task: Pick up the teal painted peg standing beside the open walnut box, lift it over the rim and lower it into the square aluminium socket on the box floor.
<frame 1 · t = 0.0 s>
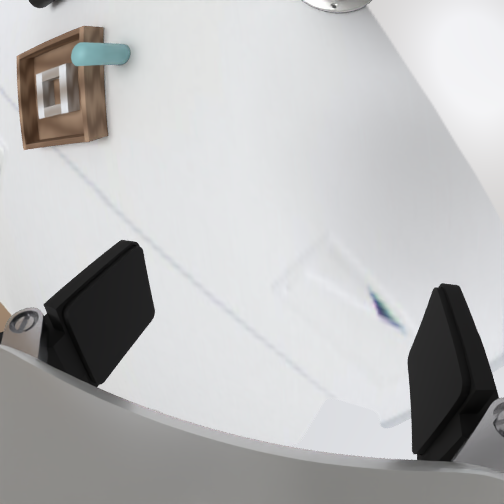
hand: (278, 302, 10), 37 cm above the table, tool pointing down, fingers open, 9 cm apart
peg: (121, 54, 42), on the table
box: (66, 89, 47), on the table
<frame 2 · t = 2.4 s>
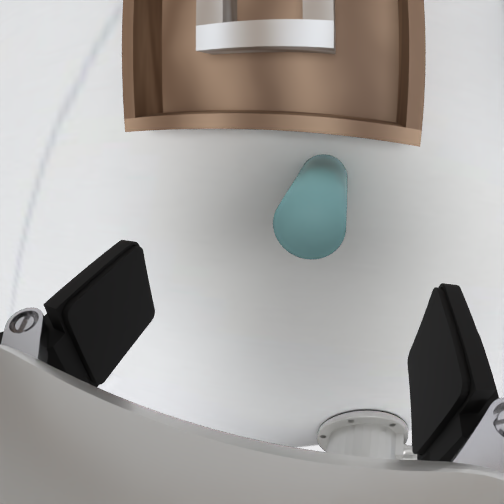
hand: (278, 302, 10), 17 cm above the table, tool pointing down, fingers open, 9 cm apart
peg: (324, 177, 24), on the table
box: (274, 1, 19), on the table
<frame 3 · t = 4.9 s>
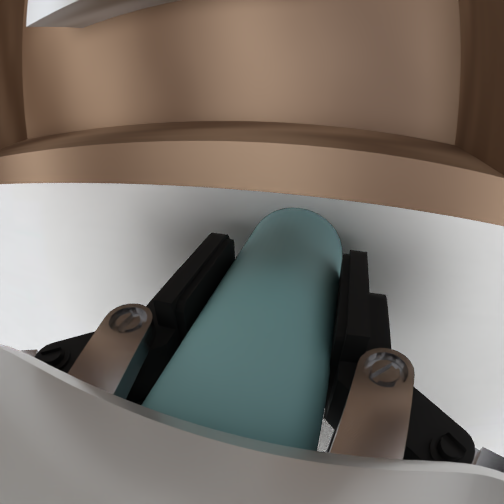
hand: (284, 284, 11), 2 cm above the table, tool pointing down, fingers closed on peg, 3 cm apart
peg: (295, 251, 13), on the table, touching gripper
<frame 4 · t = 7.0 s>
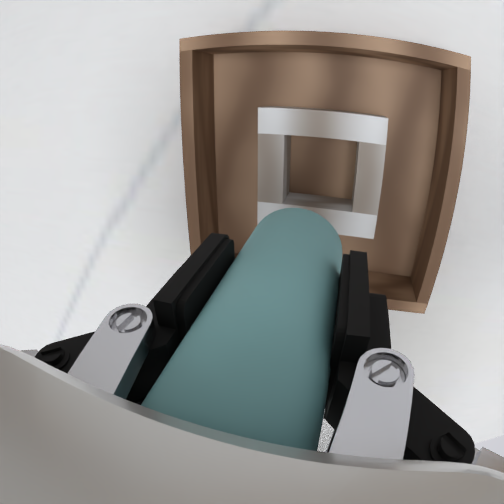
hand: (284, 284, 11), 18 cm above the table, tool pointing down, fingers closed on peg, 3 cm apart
peg: (295, 251, 13), point 16 cm above the table, touching gripper
box: (323, 162, 26), on the table
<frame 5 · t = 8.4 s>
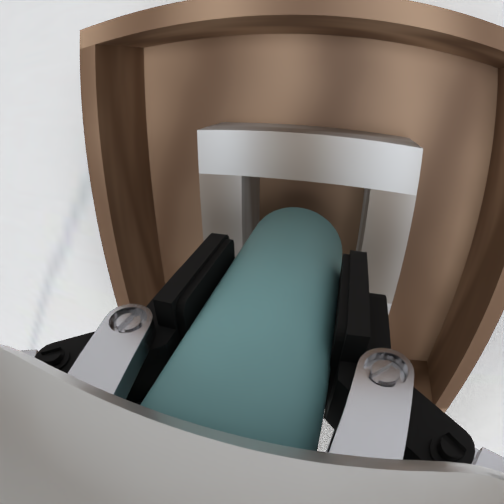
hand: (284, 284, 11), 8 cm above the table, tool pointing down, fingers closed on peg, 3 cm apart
peg: (295, 251, 13), point 5 cm above the table, touching gripper
box: (311, 208, 17), on the table
when the fingers open (5 cm above the table, at t = 9.5 s): peg drops 2 cm, resting on box.
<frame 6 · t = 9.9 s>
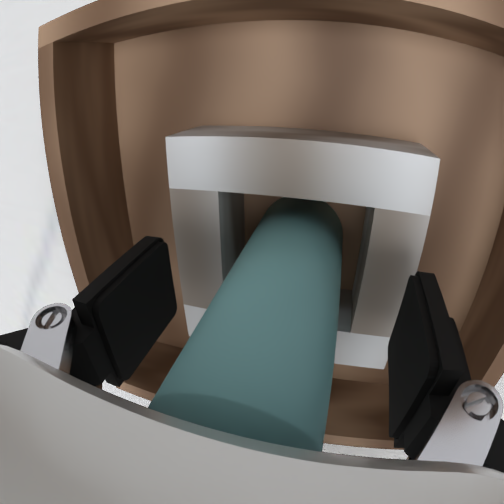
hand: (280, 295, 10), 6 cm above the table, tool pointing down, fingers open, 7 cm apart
peg: (301, 233, 14), point 1 cm above the table, touching box
box: (305, 224, 15), on the table
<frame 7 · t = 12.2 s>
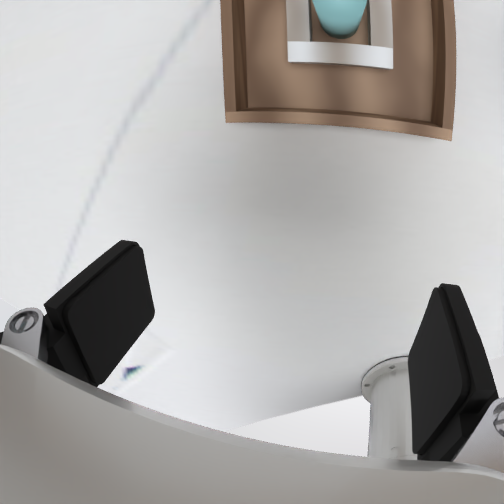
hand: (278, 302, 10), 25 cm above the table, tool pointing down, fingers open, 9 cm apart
peg: (339, 21, 23), point 1 cm above the table, touching box
box: (339, 23, 24), on the table
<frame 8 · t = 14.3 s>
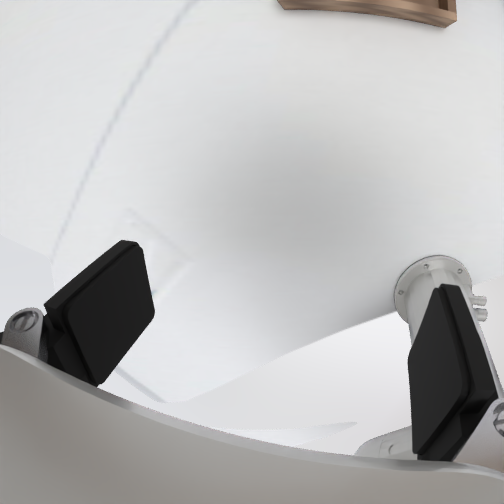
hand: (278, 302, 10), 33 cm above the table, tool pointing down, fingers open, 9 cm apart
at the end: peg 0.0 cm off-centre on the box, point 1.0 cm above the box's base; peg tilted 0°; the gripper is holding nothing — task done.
